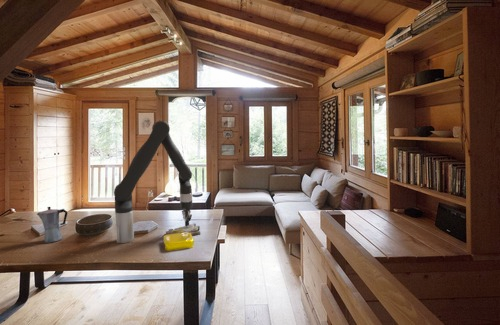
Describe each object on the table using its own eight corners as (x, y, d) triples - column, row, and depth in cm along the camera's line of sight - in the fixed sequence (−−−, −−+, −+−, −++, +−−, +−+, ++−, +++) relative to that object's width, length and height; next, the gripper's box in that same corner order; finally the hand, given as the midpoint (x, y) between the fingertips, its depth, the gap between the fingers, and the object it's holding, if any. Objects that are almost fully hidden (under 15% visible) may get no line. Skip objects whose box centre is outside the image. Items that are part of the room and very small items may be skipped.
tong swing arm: (175, 233, 169) (175, 229, 169) (174, 232, 171) (174, 228, 170) (196, 227, 180) (196, 223, 179) (194, 226, 181) (194, 223, 180)
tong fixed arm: (169, 235, 165) (169, 231, 165) (168, 233, 169) (167, 229, 169) (200, 230, 174) (199, 226, 174) (197, 228, 178) (197, 224, 178)
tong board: (170, 239, 163) (170, 237, 163) (166, 233, 173) (165, 231, 173) (200, 234, 172) (200, 231, 172) (194, 228, 182) (194, 226, 182)
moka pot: (41, 239, 166) (38, 205, 164) (71, 235, 171) (69, 203, 169) (35, 244, 157) (32, 209, 155) (67, 241, 162) (65, 207, 160)
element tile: (163, 242, 161) (163, 234, 160) (190, 238, 166) (189, 230, 166) (165, 252, 147) (165, 243, 146) (194, 248, 152) (194, 239, 152)
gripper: (177, 198, 180) (178, 224, 182) (183, 203, 169) (184, 230, 171) (188, 197, 184) (189, 222, 186) (195, 201, 173) (196, 228, 175)
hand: (187, 226), depth 178 cm, fingers closed
